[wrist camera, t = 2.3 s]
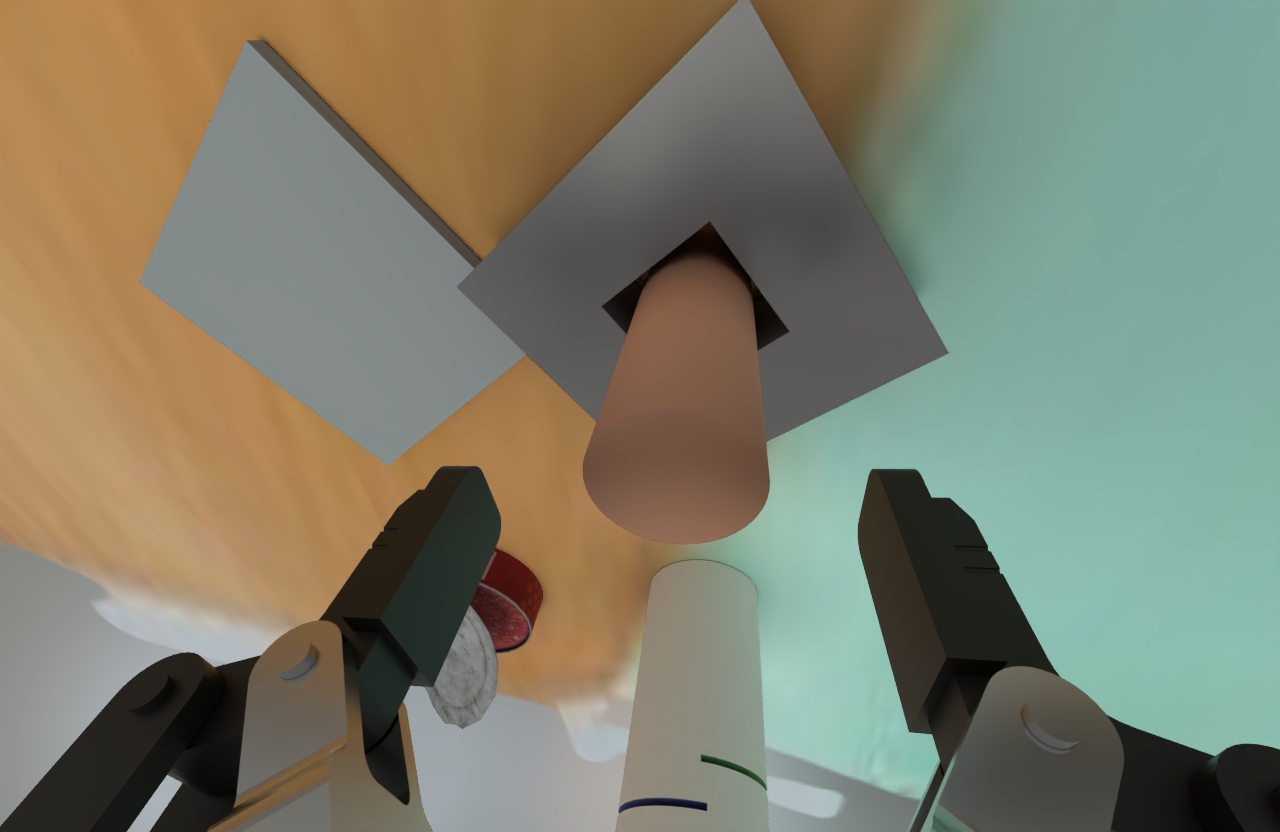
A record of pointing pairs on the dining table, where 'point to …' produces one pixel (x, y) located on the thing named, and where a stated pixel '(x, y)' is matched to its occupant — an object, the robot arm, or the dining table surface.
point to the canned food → (486, 639)
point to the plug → (684, 405)
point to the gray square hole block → (744, 218)
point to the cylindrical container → (697, 708)
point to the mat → (323, 266)
